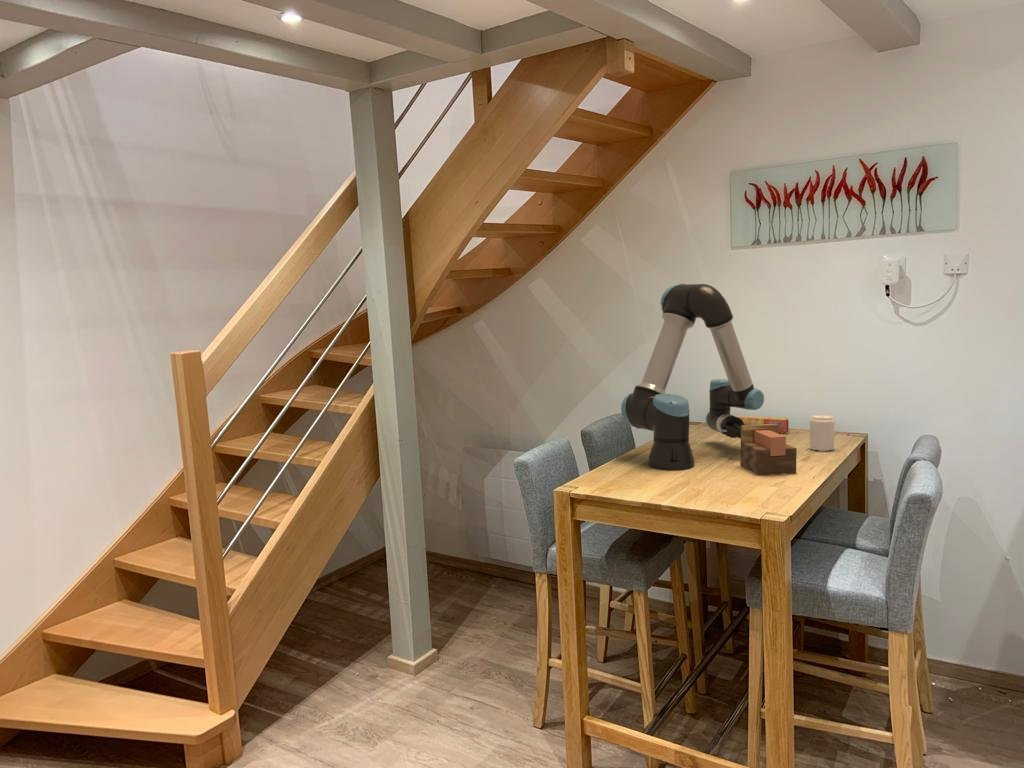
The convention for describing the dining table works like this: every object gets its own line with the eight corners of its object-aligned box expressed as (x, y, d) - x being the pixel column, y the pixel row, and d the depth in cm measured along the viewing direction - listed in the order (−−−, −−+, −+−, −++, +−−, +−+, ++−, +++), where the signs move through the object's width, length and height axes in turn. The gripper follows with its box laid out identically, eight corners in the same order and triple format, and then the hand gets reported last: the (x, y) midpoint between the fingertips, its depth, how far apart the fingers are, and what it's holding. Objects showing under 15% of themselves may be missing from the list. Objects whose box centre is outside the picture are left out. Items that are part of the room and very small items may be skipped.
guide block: (740, 465, 267) (740, 425, 265) (775, 463, 268) (776, 423, 267) (758, 475, 253) (759, 433, 251) (796, 473, 255) (796, 431, 253)
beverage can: (811, 451, 285) (811, 418, 283) (808, 447, 293) (809, 414, 291) (835, 452, 283) (836, 418, 281) (832, 447, 291) (832, 414, 289)
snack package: (788, 432, 323) (788, 415, 322) (787, 435, 317) (787, 418, 316) (734, 429, 331) (734, 413, 330) (732, 432, 325) (732, 416, 324)
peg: (751, 447, 266) (751, 429, 266) (765, 446, 267) (765, 428, 266) (770, 456, 253) (770, 437, 252) (785, 455, 253) (785, 436, 253)
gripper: (747, 435, 291) (778, 448, 268) (713, 437, 289) (741, 450, 266) (747, 414, 290) (778, 425, 267) (713, 416, 288) (741, 428, 265)
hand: (759, 438), depth 267 cm, fingers closed
